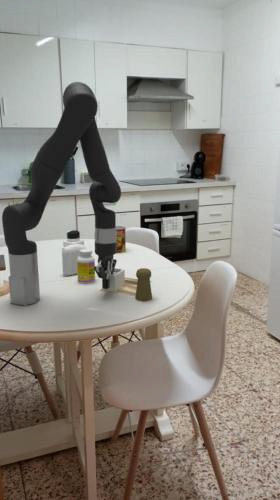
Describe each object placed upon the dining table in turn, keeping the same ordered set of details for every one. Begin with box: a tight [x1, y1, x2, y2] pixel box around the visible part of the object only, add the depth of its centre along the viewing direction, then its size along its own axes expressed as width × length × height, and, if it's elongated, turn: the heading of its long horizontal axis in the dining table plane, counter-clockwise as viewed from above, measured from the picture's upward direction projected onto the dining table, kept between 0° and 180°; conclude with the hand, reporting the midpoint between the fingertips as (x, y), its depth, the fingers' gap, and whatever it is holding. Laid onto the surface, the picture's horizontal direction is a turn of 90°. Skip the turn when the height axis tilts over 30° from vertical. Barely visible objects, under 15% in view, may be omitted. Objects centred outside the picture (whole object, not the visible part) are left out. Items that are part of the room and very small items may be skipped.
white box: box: [103, 268, 126, 292], centre depth 150 cm, size 8×5×6 cm, turn 158°
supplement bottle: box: [77, 248, 96, 285], centre depth 157 cm, size 7×7×13 cm
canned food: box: [116, 225, 127, 254], centre depth 202 cm, size 8×8×12 cm
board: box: [99, 277, 153, 297], centre depth 153 cm, size 17×14×1 cm
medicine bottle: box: [62, 229, 85, 249], centre depth 194 cm, size 7×7×12 cm
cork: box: [134, 267, 153, 302], centre depth 140 cm, size 6×6×11 cm
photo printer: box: [61, 244, 87, 277], centre depth 167 cm, size 10×4×12 cm, turn 123°
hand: (106, 288), depth 144 cm, fingers closed
